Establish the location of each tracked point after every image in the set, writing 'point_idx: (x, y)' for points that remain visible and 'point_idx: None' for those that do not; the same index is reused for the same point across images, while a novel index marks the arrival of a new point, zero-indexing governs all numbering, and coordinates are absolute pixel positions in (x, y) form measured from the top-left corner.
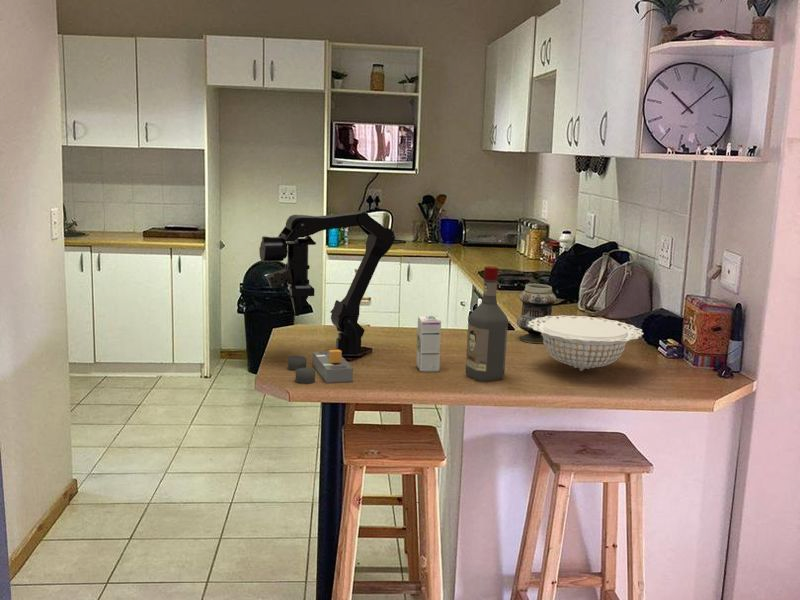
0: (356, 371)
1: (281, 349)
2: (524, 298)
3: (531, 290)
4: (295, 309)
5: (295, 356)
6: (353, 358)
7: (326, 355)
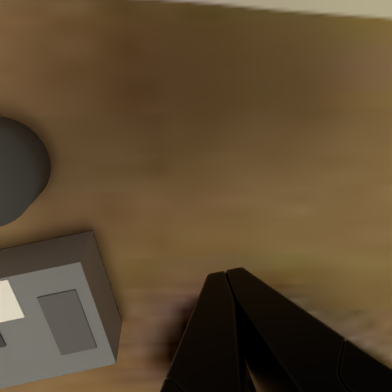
0: None
1: (374, 71)
2: None
3: None
4: (187, 334)
5: (14, 169)
6: None
7: (18, 324)
